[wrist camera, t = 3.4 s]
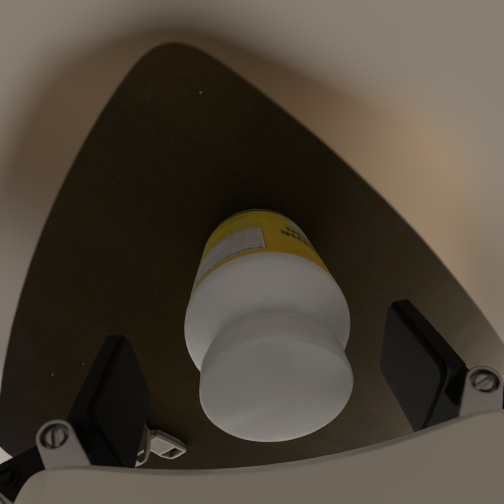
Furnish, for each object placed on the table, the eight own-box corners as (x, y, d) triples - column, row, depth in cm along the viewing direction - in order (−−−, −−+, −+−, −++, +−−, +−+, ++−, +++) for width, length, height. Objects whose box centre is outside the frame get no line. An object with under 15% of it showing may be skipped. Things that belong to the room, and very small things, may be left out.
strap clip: (190, 444, 26) (186, 479, 22) (172, 454, 27) (167, 487, 23) (114, 399, 24) (101, 435, 20) (100, 412, 24) (87, 446, 20)
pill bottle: (311, 296, 21) (370, 438, 10) (213, 310, 21) (198, 462, 10) (304, 198, 18) (393, 288, 8) (194, 213, 18) (140, 324, 8)
